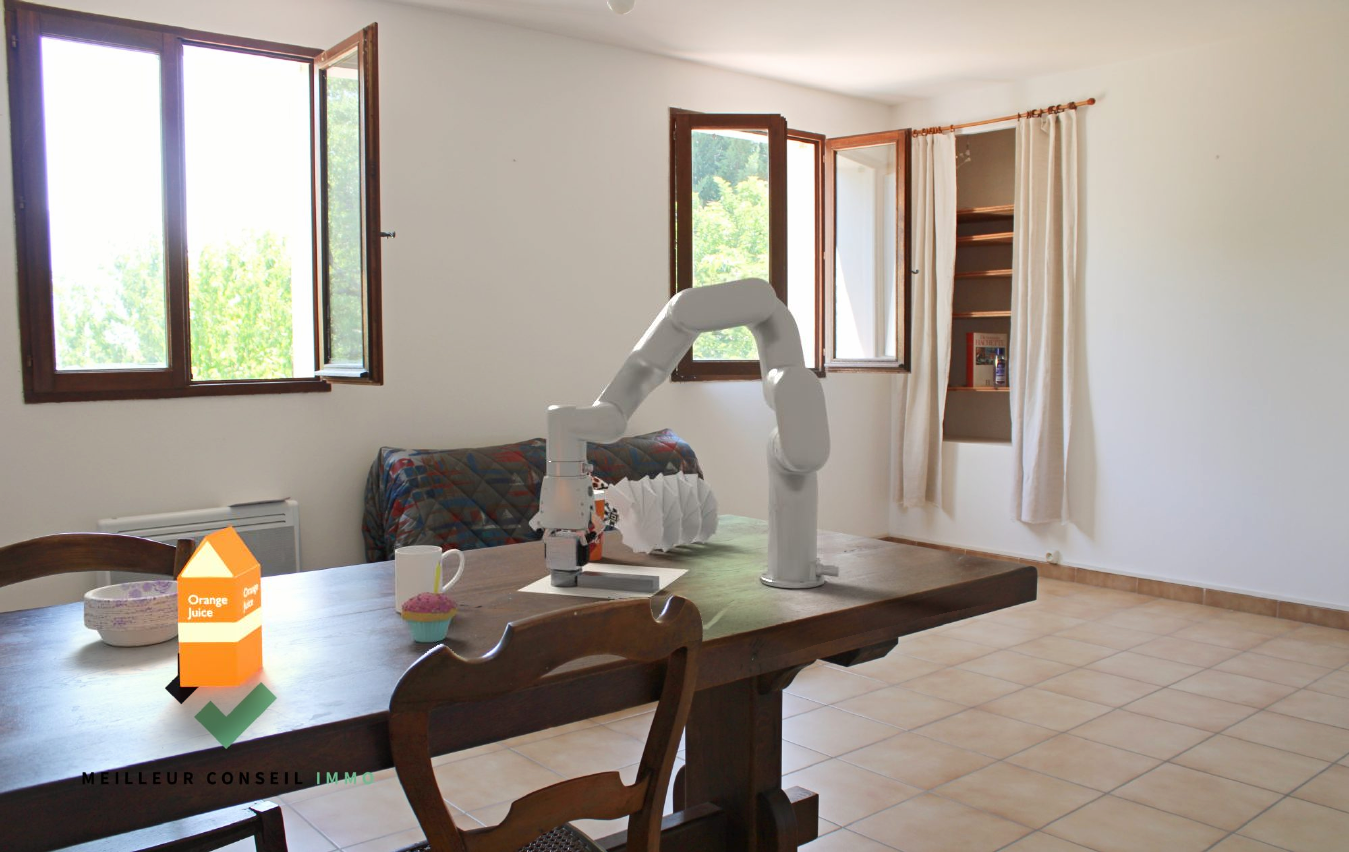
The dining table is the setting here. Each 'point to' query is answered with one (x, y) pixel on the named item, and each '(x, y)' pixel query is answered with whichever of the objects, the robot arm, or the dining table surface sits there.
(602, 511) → the coffee cup
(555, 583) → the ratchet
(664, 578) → the white square board
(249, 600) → the orange juice
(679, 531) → the white pleated paper lantern
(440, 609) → the cupcake
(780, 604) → the dining table surface
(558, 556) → the light gray cube
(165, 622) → the paper bowls
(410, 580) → the mug
